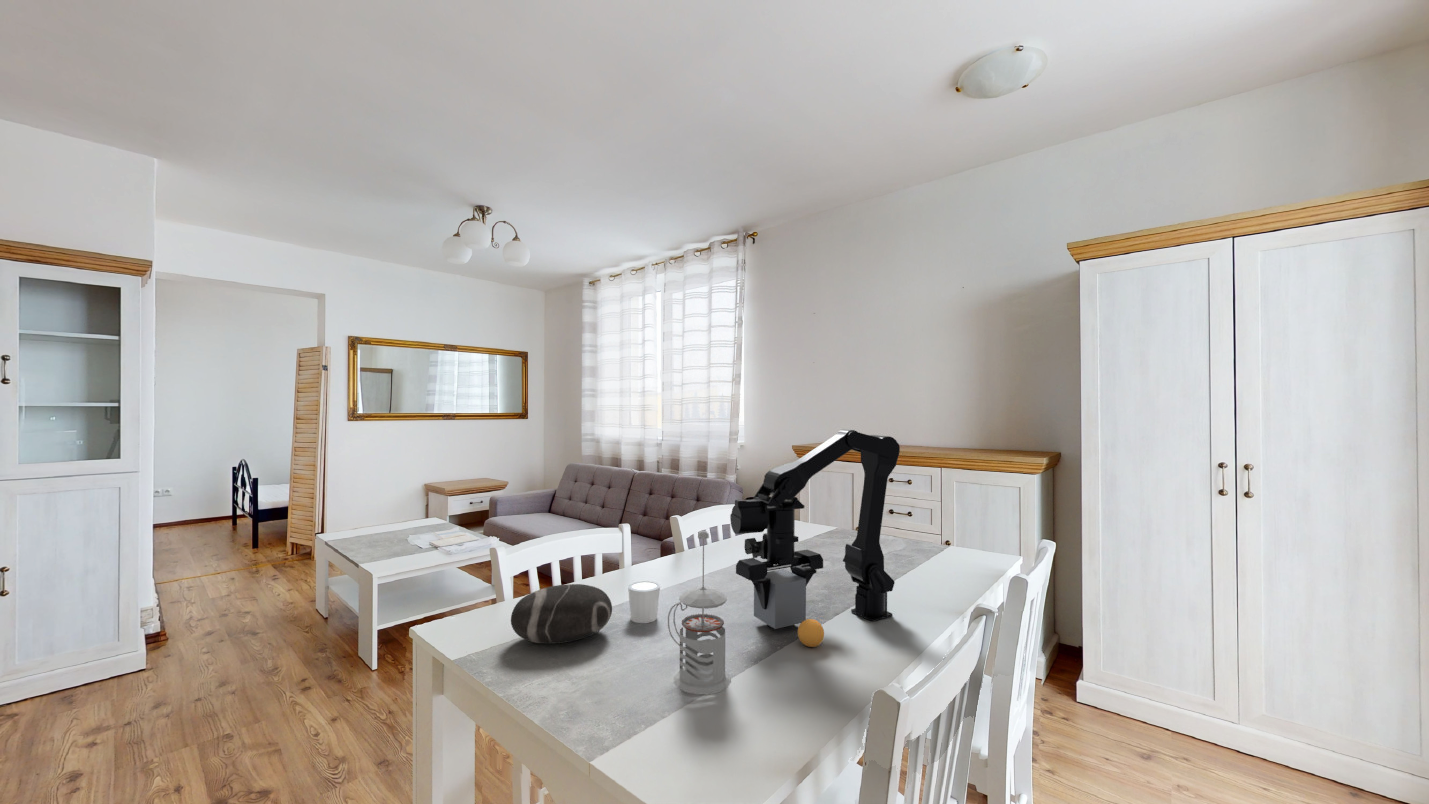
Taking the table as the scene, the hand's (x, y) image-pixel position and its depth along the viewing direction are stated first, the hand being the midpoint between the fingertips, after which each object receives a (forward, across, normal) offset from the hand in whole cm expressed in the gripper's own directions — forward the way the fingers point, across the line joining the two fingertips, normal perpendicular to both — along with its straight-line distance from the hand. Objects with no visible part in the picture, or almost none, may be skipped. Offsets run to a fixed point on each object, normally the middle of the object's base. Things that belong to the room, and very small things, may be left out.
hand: (780, 605), depth 117 cm
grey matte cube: (+3, 0, 0) cm, 3 cm away
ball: (+2, 0, +10) cm, 10 cm away
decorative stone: (+5, +41, -16) cm, 44 cm away
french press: (+5, +25, +11) cm, 28 cm away
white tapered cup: (+5, +23, -18) cm, 30 cm away
